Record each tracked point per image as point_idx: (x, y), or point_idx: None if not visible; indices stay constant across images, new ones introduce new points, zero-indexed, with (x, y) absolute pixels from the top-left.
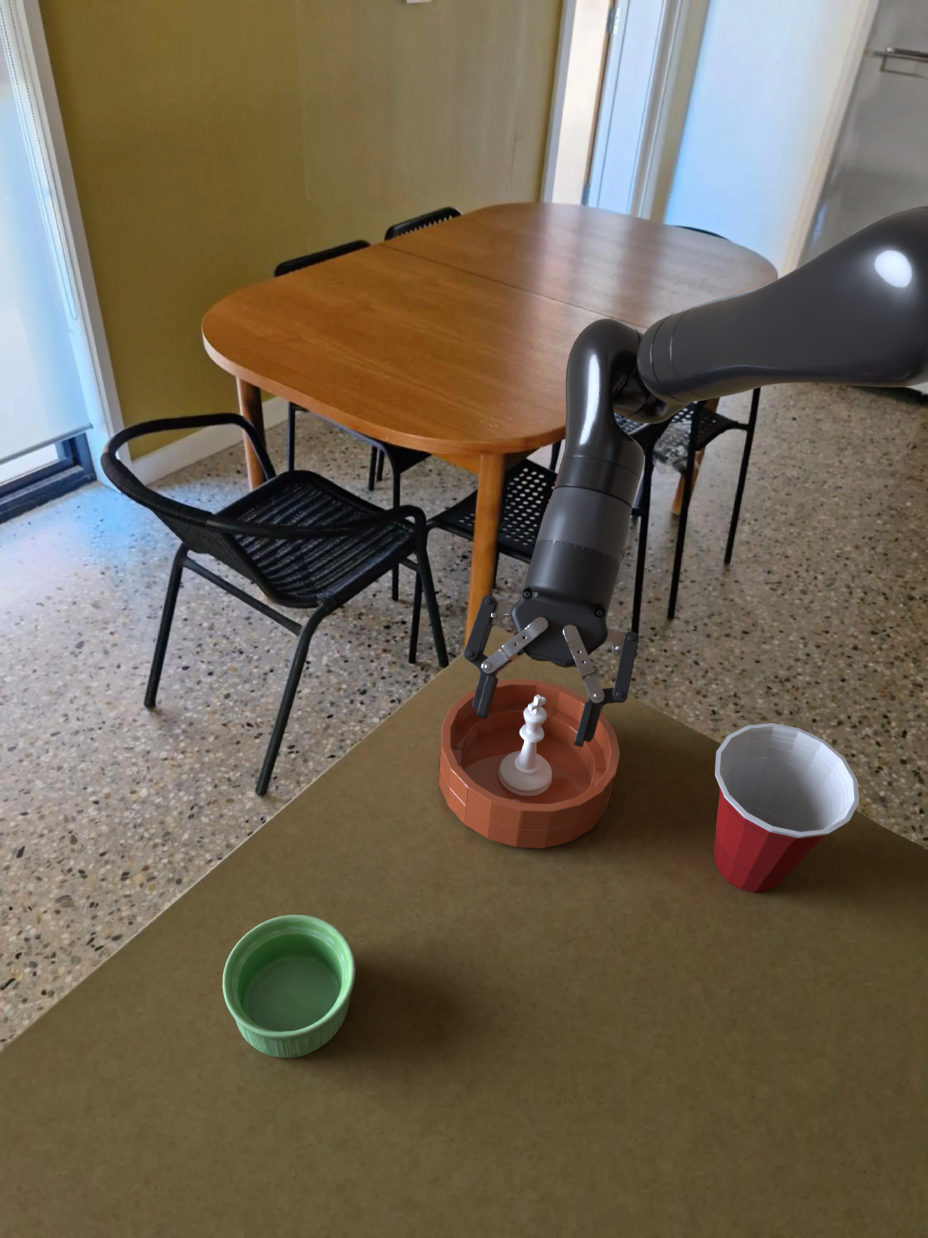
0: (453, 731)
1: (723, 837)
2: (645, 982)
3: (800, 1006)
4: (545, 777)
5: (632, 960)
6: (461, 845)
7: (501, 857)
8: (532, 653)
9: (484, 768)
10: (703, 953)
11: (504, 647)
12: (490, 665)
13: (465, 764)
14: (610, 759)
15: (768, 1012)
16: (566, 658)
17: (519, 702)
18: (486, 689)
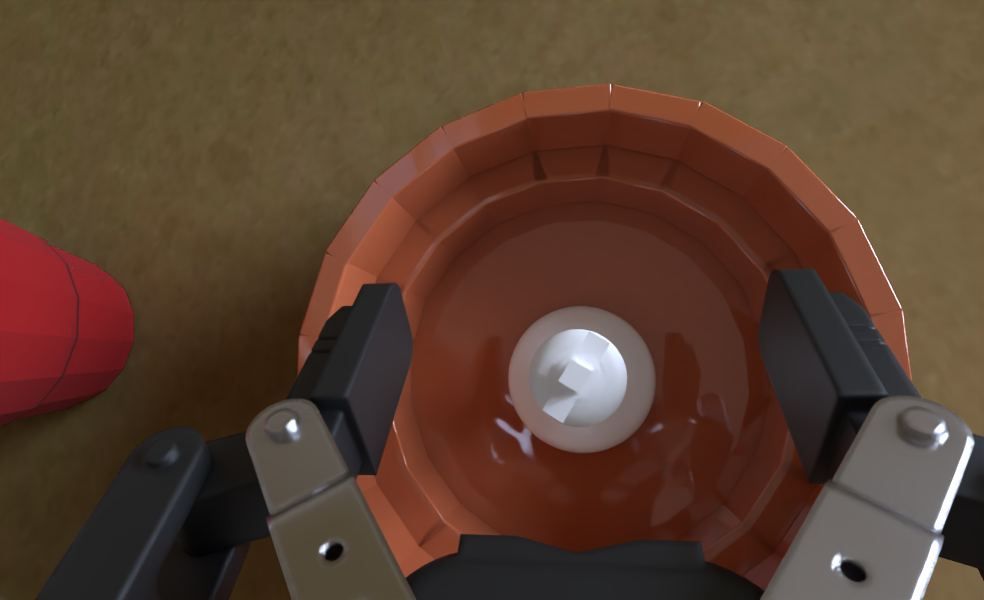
0: None
1: (29, 250)
2: (239, 7)
3: (4, 79)
4: (521, 367)
5: (265, 35)
6: None
7: None
8: (694, 566)
9: (693, 359)
10: (150, 103)
11: (918, 528)
12: (914, 428)
13: (749, 352)
14: None
15: (51, 47)
16: (457, 581)
17: None
18: (840, 341)
